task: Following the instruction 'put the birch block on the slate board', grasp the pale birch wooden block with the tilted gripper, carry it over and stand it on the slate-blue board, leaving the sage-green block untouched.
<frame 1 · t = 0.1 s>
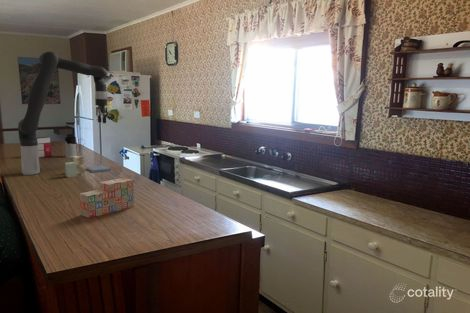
hand: (102, 122, 254), 29 cm above the counter, tool pointing down, fingers open, 8 cm apart
birch block: (79, 172, 235), on the counter
sage block: (71, 176, 224), on the counter
slate board: (98, 170, 243), on the counter
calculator: (43, 157, 289), on the counter
stack of blocks: (108, 211, 160), on the counter
glass holder: (75, 156, 293), on the counter
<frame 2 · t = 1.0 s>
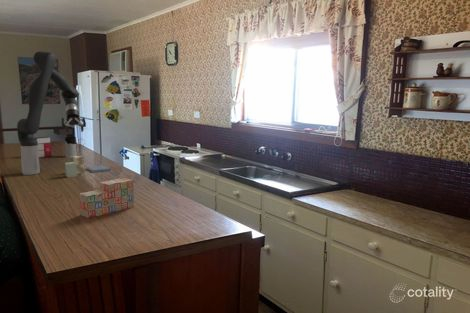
hand: (74, 131, 241), 25 cm above the counter, tool tilted 45°, fingers open, 8 cm apart
nothing on the counter moved.
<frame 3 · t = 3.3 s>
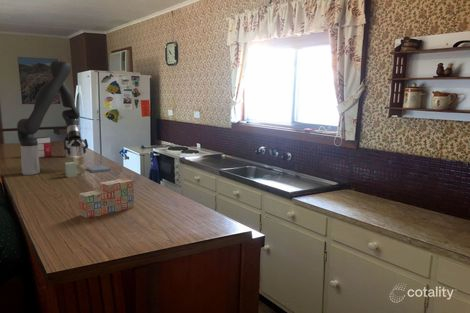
hand: (77, 153, 238), 11 cm above the counter, tool tilted 45°, fingers open, 8 cm apart
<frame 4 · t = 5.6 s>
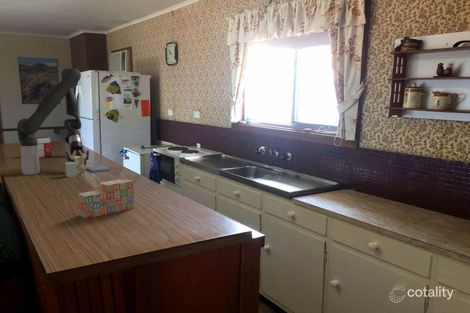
hand: (79, 165, 233), 5 cm above the counter, tool tilted 45°, fingers closed on birch block, 5 cm apart
birch block: (79, 172, 235), on the counter, touching gripper
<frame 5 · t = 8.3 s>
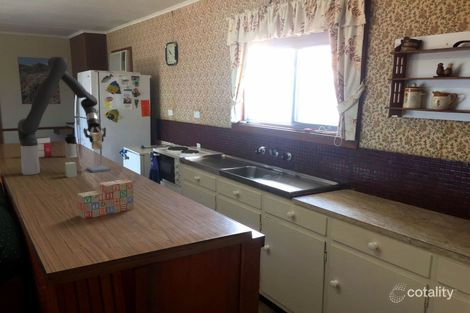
hand: (97, 141, 238), 19 cm above the counter, tool tilted 45°, fingers closed on birch block, 5 cm apart
birch block: (97, 148, 240), point 14 cm above the counter, touching gripper
when the fingers open (8 cm above the counter, at t = 10.9 s): birch block drops 1 cm, resting on slate board.
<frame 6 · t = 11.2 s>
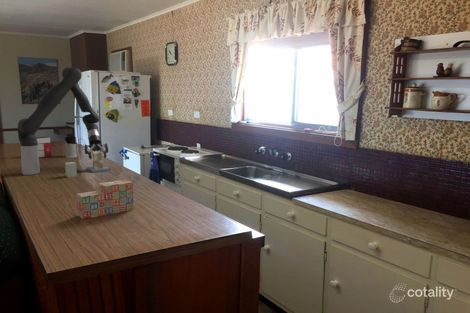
hand: (98, 157, 240), 8 cm above the counter, tool tilted 45°, fingers open, 8 cm apart
birch block: (98, 167, 242), point 1 cm above the counter, touching slate board
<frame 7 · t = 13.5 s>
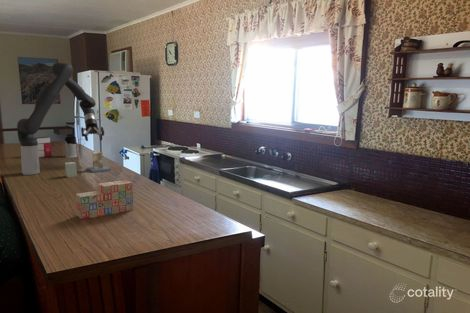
hand: (94, 140, 250), 18 cm above the counter, tool tilted 45°, fingers open, 8 cm apart
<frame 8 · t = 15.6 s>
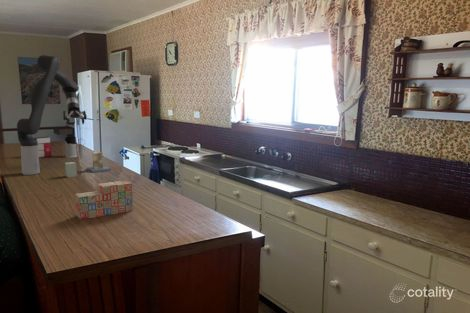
hand: (76, 123, 250), 29 cm above the counter, tool tilted 45°, fingers open, 8 cm apart
at the end: birch block inside the target area on the slate board (0.1 cm from its centre), point 1.5 cm above the slate board's base; birch block tilted 0°; sage block moved 0.1 cm from its start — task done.
